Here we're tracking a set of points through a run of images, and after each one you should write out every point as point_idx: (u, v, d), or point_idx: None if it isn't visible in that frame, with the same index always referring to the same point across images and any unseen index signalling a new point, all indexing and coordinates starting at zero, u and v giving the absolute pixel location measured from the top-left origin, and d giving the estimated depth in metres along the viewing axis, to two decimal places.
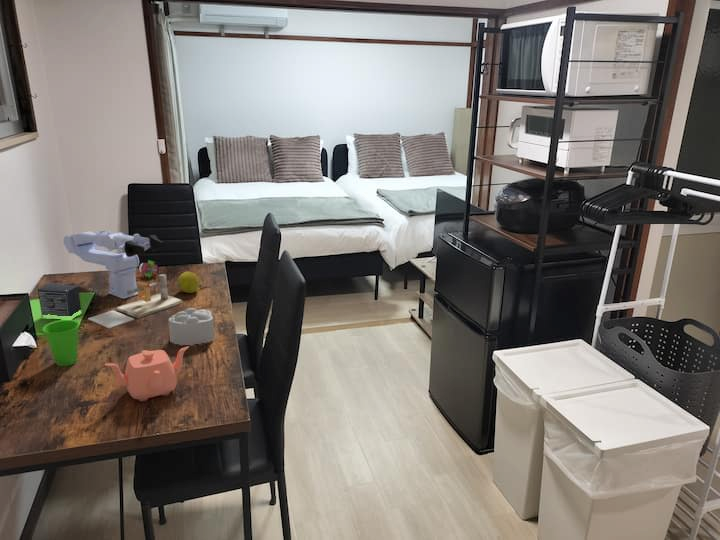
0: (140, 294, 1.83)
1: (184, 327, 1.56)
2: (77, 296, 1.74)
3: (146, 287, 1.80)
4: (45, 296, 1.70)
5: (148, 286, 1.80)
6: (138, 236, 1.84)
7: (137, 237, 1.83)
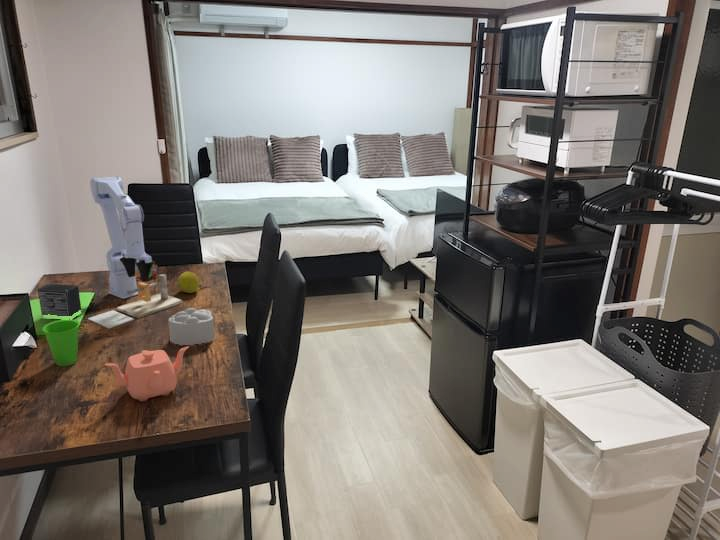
0: (140, 294, 1.83)
1: (184, 327, 1.56)
2: (77, 296, 1.74)
3: (146, 287, 1.80)
4: (45, 296, 1.70)
5: (148, 286, 1.80)
6: (128, 257, 1.77)
7: None
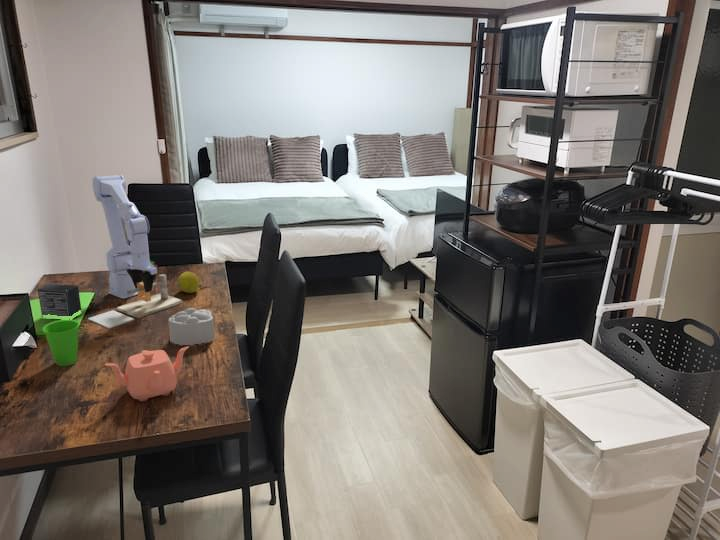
0: (140, 294, 1.83)
1: (184, 327, 1.56)
2: (77, 296, 1.74)
3: None
4: (45, 296, 1.70)
5: None
6: (134, 268, 1.77)
7: None
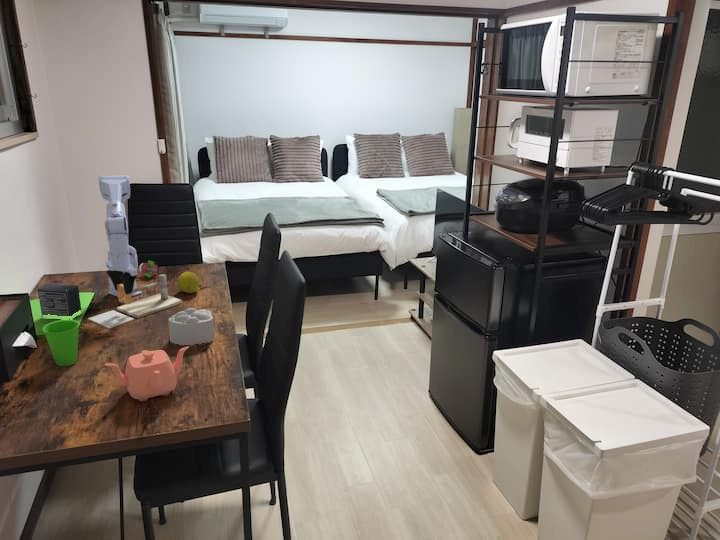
0: (120, 296, 1.77)
1: (184, 327, 1.56)
2: (77, 296, 1.74)
3: None
4: (45, 296, 1.70)
5: None
6: (113, 270, 1.70)
7: None
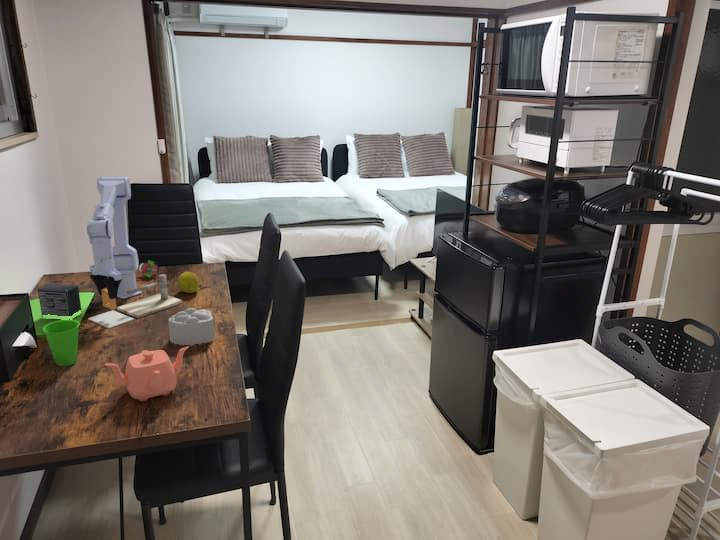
0: (105, 301, 1.72)
1: (184, 327, 1.56)
2: (77, 296, 1.74)
3: None
4: (45, 296, 1.70)
5: None
6: (97, 274, 1.66)
7: None
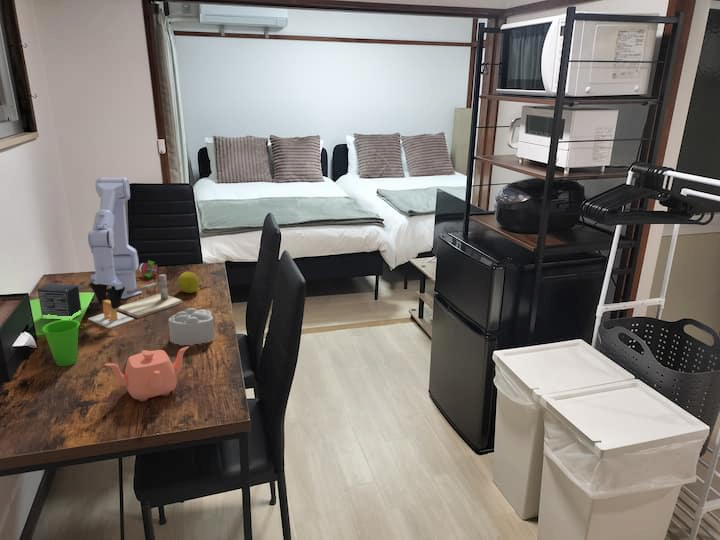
0: (106, 312, 1.74)
1: (184, 327, 1.56)
2: (77, 296, 1.74)
3: None
4: (45, 296, 1.70)
5: None
6: (98, 283, 1.67)
7: None
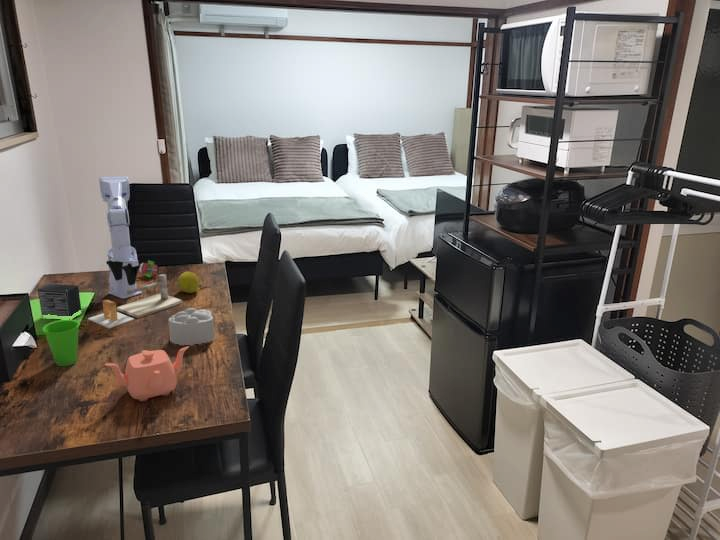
0: (106, 312, 1.74)
1: (184, 327, 1.56)
2: (77, 296, 1.74)
3: (112, 305, 1.70)
4: (45, 296, 1.70)
5: (114, 304, 1.71)
6: (115, 260, 1.75)
7: None
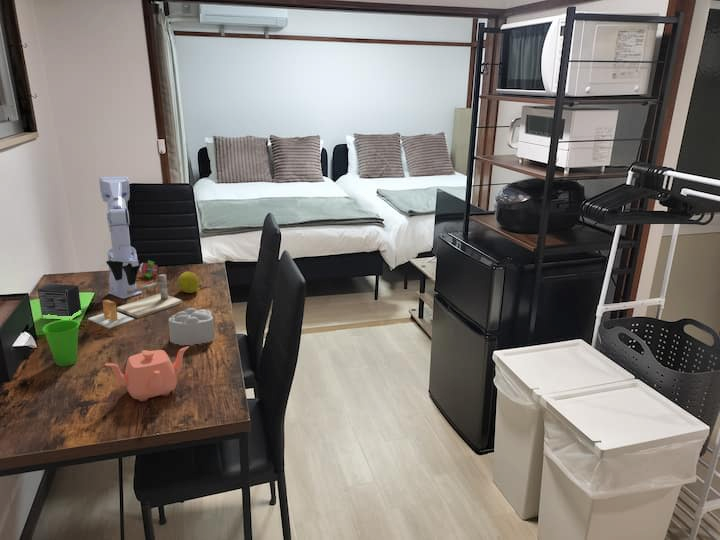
0: (106, 312, 1.74)
1: (184, 327, 1.56)
2: (77, 296, 1.74)
3: (112, 305, 1.70)
4: (45, 296, 1.70)
5: (114, 304, 1.71)
6: (115, 260, 1.75)
7: None
